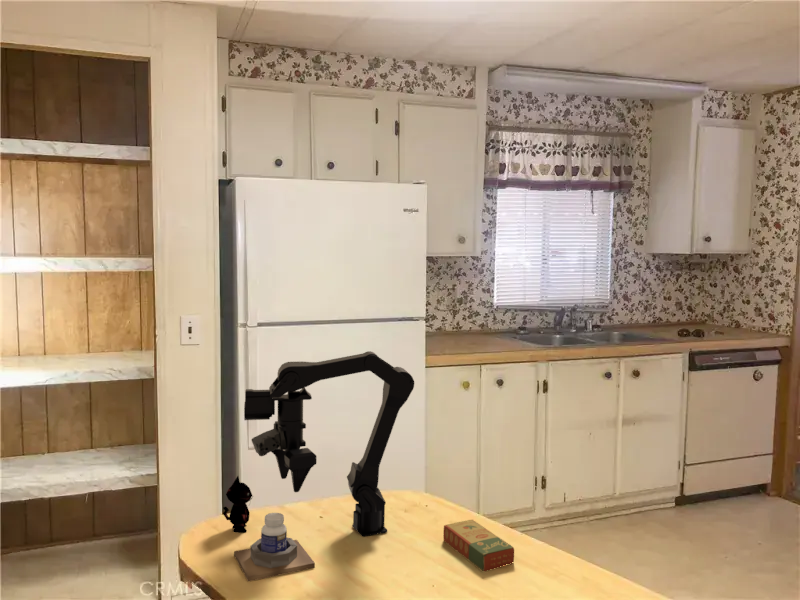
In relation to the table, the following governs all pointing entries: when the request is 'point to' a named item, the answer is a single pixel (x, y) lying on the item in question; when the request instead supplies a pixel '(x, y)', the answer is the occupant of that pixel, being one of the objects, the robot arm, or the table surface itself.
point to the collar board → (273, 560)
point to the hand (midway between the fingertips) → (289, 485)
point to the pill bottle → (273, 534)
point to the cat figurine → (238, 505)
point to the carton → (478, 545)
